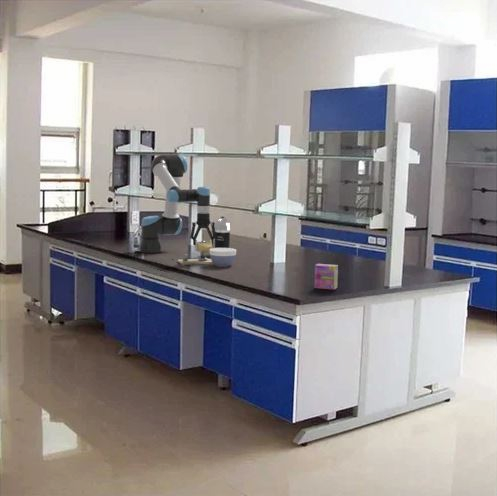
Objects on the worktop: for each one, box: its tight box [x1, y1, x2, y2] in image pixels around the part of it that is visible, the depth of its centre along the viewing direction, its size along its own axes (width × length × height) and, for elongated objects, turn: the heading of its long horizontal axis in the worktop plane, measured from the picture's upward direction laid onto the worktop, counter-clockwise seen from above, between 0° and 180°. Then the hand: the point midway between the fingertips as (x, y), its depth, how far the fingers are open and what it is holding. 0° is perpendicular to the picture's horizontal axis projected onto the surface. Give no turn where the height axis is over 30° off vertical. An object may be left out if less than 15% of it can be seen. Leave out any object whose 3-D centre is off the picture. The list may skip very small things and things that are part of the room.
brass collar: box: [196, 240, 213, 253], centre depth 428 cm, size 8×8×5 cm
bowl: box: [209, 247, 237, 268], centre depth 419 cm, size 16×16×10 cm
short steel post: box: [182, 253, 189, 262], centre depth 426 cm, size 3×3×4 cm
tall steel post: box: [198, 240, 208, 261], centre depth 429 cm, size 5×5×12 cm
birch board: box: [177, 258, 215, 266], centre depth 428 cm, size 12×20×1 cm, turn 110°
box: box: [314, 263, 339, 290], centre depth 356 cm, size 10×6×12 cm, turn 66°
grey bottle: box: [214, 216, 231, 248], centre depth 460 cm, size 10×10×25 cm
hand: (203, 250), depth 429 cm, fingers closed on brass collar, 8 cm apart
